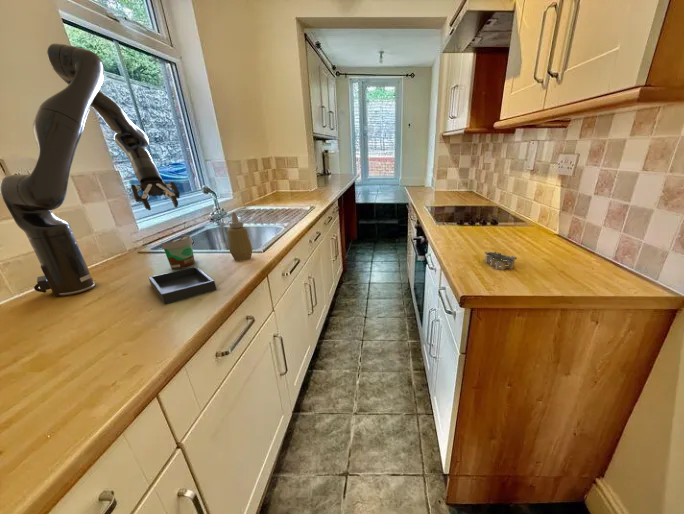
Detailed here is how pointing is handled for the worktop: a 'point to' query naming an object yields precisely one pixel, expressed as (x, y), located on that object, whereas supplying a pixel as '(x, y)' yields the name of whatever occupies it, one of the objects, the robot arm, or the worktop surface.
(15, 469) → the worktop surface
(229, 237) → the squeeze bottle
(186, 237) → the food container
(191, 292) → the tray
